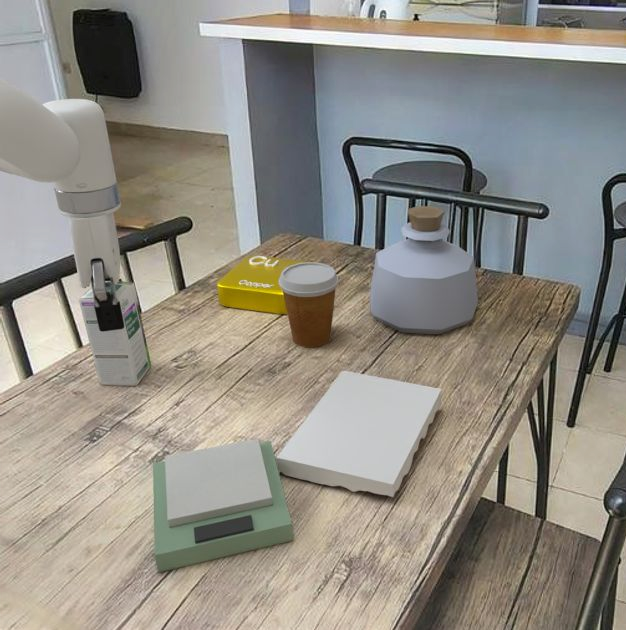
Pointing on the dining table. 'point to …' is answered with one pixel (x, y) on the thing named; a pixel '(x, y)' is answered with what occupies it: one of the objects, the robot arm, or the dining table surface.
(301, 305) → the disposable coffee cup
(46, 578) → the dining table surface
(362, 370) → the dining table surface
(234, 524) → the scale
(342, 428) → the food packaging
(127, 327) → the syrup box
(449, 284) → the bottle
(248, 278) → the element tile
